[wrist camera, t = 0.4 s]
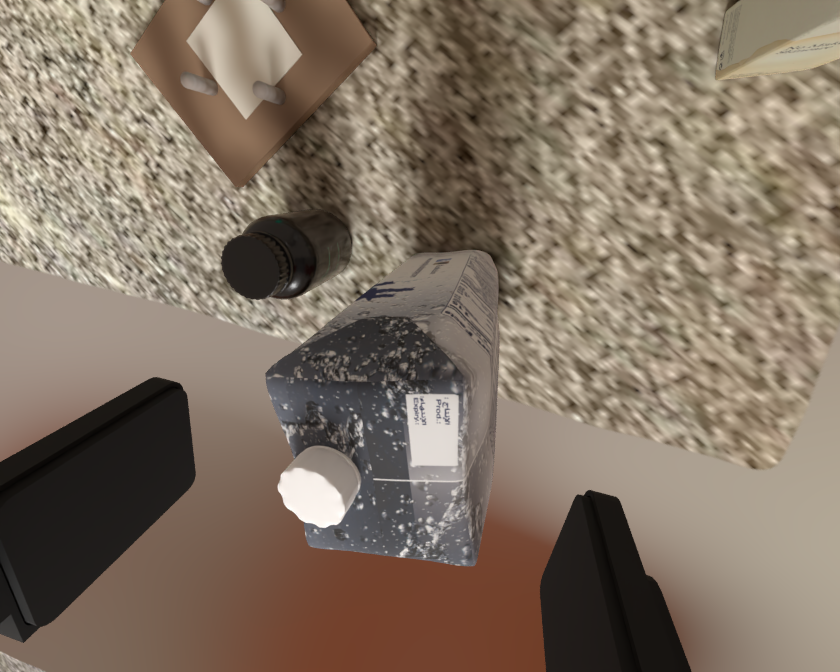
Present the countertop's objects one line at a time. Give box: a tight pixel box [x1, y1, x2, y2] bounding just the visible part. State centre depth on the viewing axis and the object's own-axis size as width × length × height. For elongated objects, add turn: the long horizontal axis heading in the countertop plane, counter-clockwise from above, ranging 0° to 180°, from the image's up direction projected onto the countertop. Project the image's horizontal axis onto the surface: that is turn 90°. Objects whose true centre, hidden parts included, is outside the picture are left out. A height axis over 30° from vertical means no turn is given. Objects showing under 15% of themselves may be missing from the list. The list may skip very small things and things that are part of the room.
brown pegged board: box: [131, 0, 377, 187], centre depth 32 cm, size 18×14×4 cm
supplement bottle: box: [221, 209, 352, 300], centre depth 34 cm, size 7×7×12 cm
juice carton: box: [266, 250, 499, 566], centre depth 26 cm, size 9×10×27 cm
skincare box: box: [715, 0, 840, 80], centre depth 21 cm, size 6×4×12 cm
